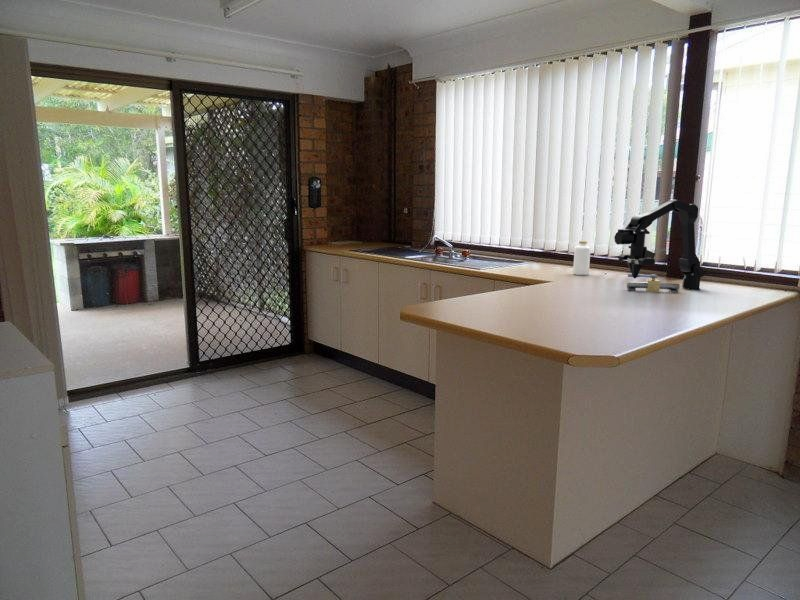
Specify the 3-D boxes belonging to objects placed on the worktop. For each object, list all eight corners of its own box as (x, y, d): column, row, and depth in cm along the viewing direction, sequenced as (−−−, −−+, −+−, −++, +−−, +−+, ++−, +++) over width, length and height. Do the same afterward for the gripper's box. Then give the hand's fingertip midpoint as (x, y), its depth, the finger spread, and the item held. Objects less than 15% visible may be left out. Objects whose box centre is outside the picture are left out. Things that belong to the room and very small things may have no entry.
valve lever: (656, 277, 260) (656, 274, 260) (657, 278, 257) (658, 275, 257) (627, 276, 263) (627, 273, 262) (628, 277, 260) (628, 274, 260)
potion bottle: (586, 273, 313) (589, 240, 309) (590, 275, 304) (592, 242, 301) (571, 273, 313) (573, 240, 310) (574, 275, 305) (576, 242, 302)
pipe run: (677, 291, 260) (678, 278, 259) (679, 293, 255) (680, 279, 254) (626, 289, 265) (627, 276, 264) (627, 291, 260) (628, 277, 259)
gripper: (667, 245, 248) (664, 280, 251) (640, 241, 266) (637, 274, 269) (645, 246, 246) (642, 281, 249) (619, 242, 264) (616, 275, 267)
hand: (634, 278), depth 258 cm, fingers closed
